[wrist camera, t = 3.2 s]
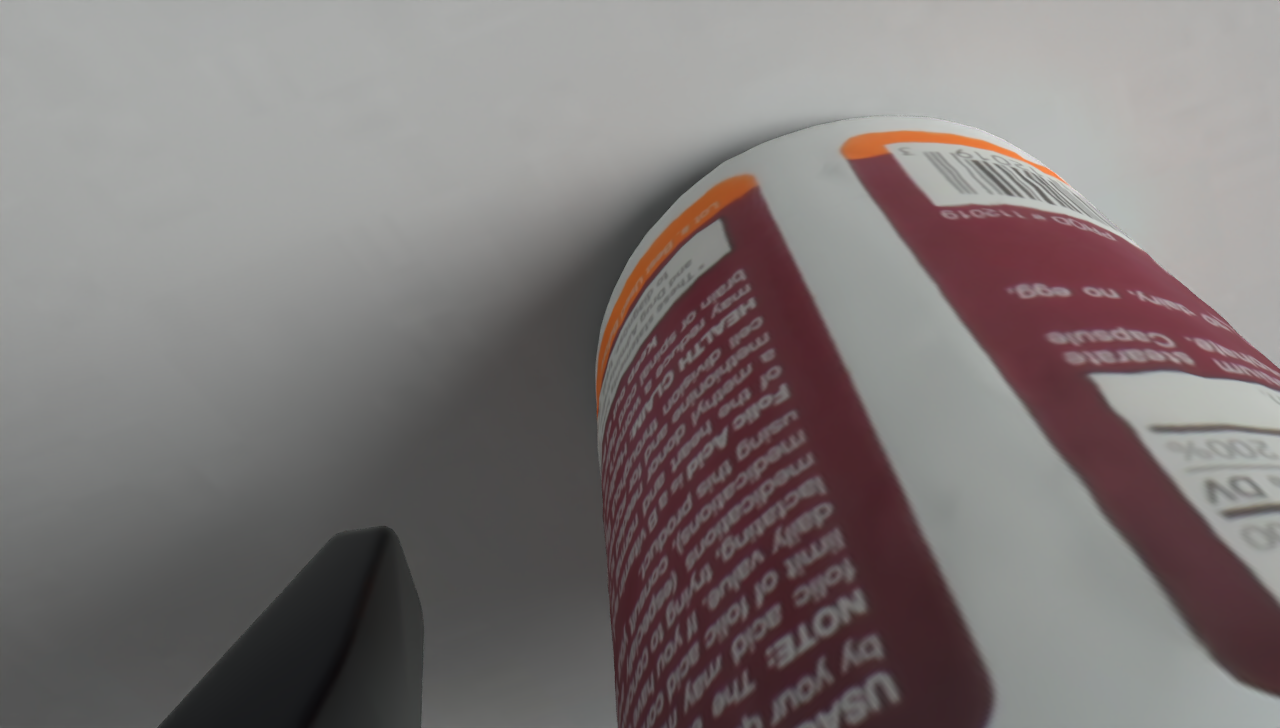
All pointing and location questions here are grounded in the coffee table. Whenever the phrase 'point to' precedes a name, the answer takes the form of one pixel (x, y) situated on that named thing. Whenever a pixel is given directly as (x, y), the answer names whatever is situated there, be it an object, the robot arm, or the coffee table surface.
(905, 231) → the pill bottle
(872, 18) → the coffee table surface
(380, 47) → the coffee table surface
